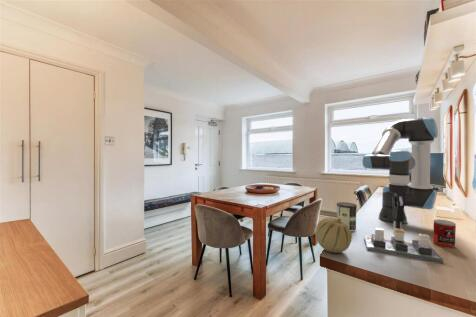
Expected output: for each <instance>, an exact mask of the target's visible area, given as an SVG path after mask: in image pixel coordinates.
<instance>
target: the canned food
mask: <svg viewBox="0 0 476 317" xmlns="http://www.w3.org/2000/svg"><path fill="white" fill-rule="evenodd" d="M456 230H457V224H456V222H453V221H450V220H447V219H434V220H433V234H432V237H433V238H432V239H433V240H432V242H433V243H434V244H435V245H437V246H439V247H443V248H448V249H449V248H450V249H452V248H455V245H456V234H457V233H456Z"/></svg>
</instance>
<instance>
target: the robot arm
mask: <svg viewBox="0 0 476 317" xmlns="http://www.w3.org/2000/svg"><path fill="white" fill-rule="evenodd" d="M438 132H439V131H438V126H437V122H436V119H435V118H433V117H420V118H410V119H401V120H397V121H395V122H393V123H391V124H390V125H388V126H387V127H385V129H384V130H383V131H382V134H381V138H380V140H379V141H378V142H377V144H376V146H375V148H374V149H373V150H372V152H371V154H365V155H364V156H363V157H362V160H361V161H362V166H363V168H365V169H371V170H388V171H389V174H388V176H387V179H388V183H389V184H387V185H386V184H385V185H384V186H383V187H382V200H381V203H382V204H381V209H380V211H379V214H378V220H381V221H383V222H387V223H392V224H393V229H392V230H393V232H392V233H393V235H394V229H395V228H399V229H402V224H407V223H408V217H407V215H406V212H405V207H409V208H416V209H421V210H430V211H431V210H432V209H433V208H434V207H435V204H436V200H437V195H438V194H437V193H438V191H437V190H435V189H434V186H432V184H431V144H432V143H433V142H434V141H435V139H436V138H438V137H439V136H438V134H439V133H438ZM401 139H402V140H403V139H404V140H405V139H407V140H408V143H410V145H411V152H410V151H408V150H393V148H394V146H395V144H396V142H398V141H399V140H401ZM410 170H411V183H410Z"/></svg>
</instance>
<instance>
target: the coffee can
mask: <svg viewBox="0 0 476 317" xmlns="http://www.w3.org/2000/svg"><path fill="white" fill-rule="evenodd" d="M357 206H358V205H357V204H355V203H352V202H345V201H343V202H341V201H339V202H336V218H338V219H341V220H342V221H344V222H345V223H346V224H347V225H348V227H349V228H350V230H351V232H355V231H356V230H357V208H358V207H357Z"/></svg>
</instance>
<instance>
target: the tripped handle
mask: <svg viewBox="0 0 476 317" xmlns="http://www.w3.org/2000/svg"><path fill="white" fill-rule="evenodd" d="M393 235H394V236H393V237H394V239H395V240H398V241H405V239H404V238H405V230H404V229H403V228H401V229H399V228H395V229H394V234H393Z"/></svg>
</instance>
